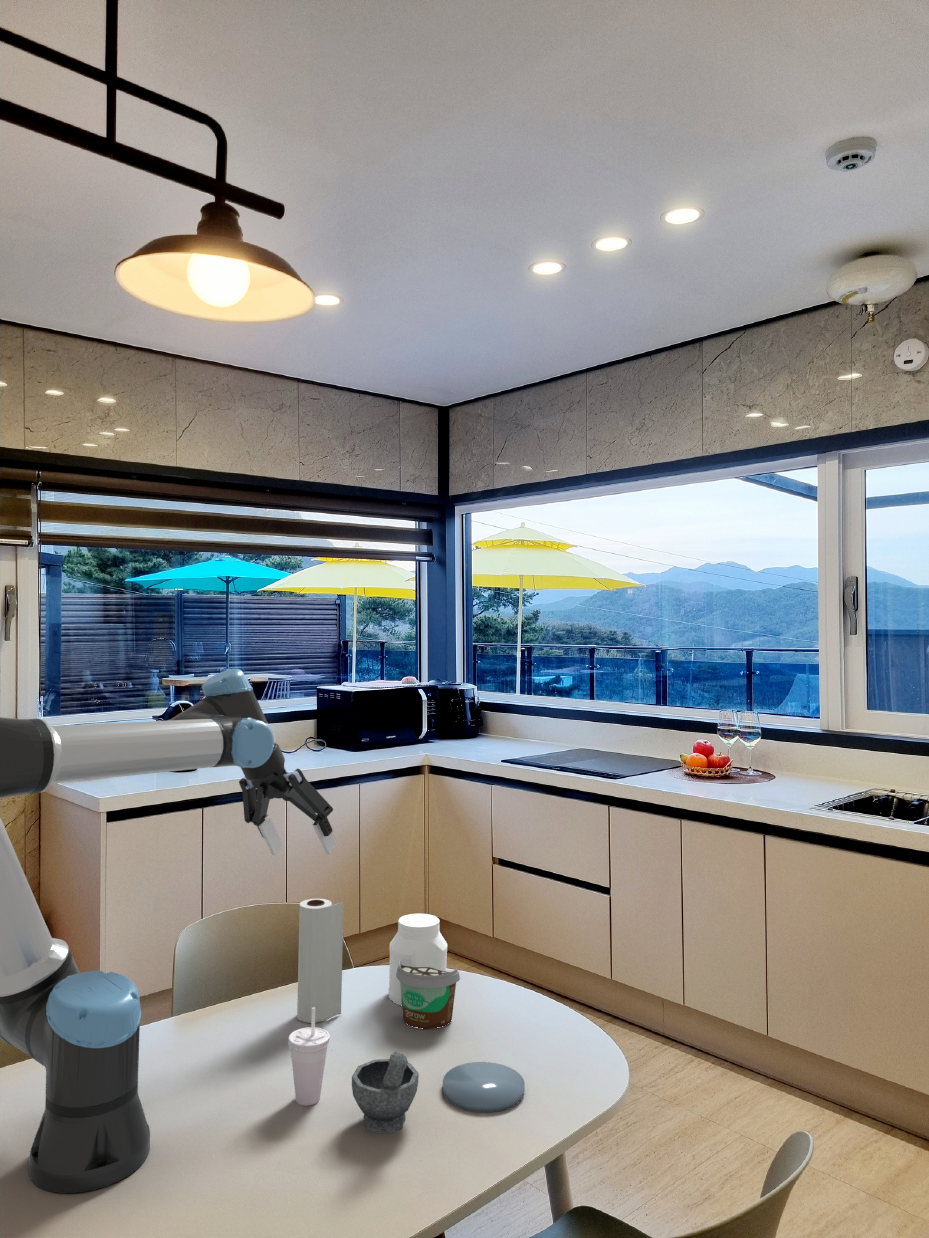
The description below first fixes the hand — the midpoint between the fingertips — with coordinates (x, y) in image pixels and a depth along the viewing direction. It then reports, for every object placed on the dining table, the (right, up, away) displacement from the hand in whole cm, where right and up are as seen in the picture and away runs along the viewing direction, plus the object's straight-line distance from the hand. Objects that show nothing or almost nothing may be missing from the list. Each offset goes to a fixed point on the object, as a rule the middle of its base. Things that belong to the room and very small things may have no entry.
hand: (304, 850), depth 161 cm
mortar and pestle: (+18, -32, -32) cm, 49 cm away
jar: (+20, -33, +13) cm, 40 cm away
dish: (+33, -32, -22) cm, 51 cm away
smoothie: (+5, -32, -26) cm, 41 cm away
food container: (+22, -32, 0) cm, 39 cm away
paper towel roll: (+2, -32, +2) cm, 32 cm away
